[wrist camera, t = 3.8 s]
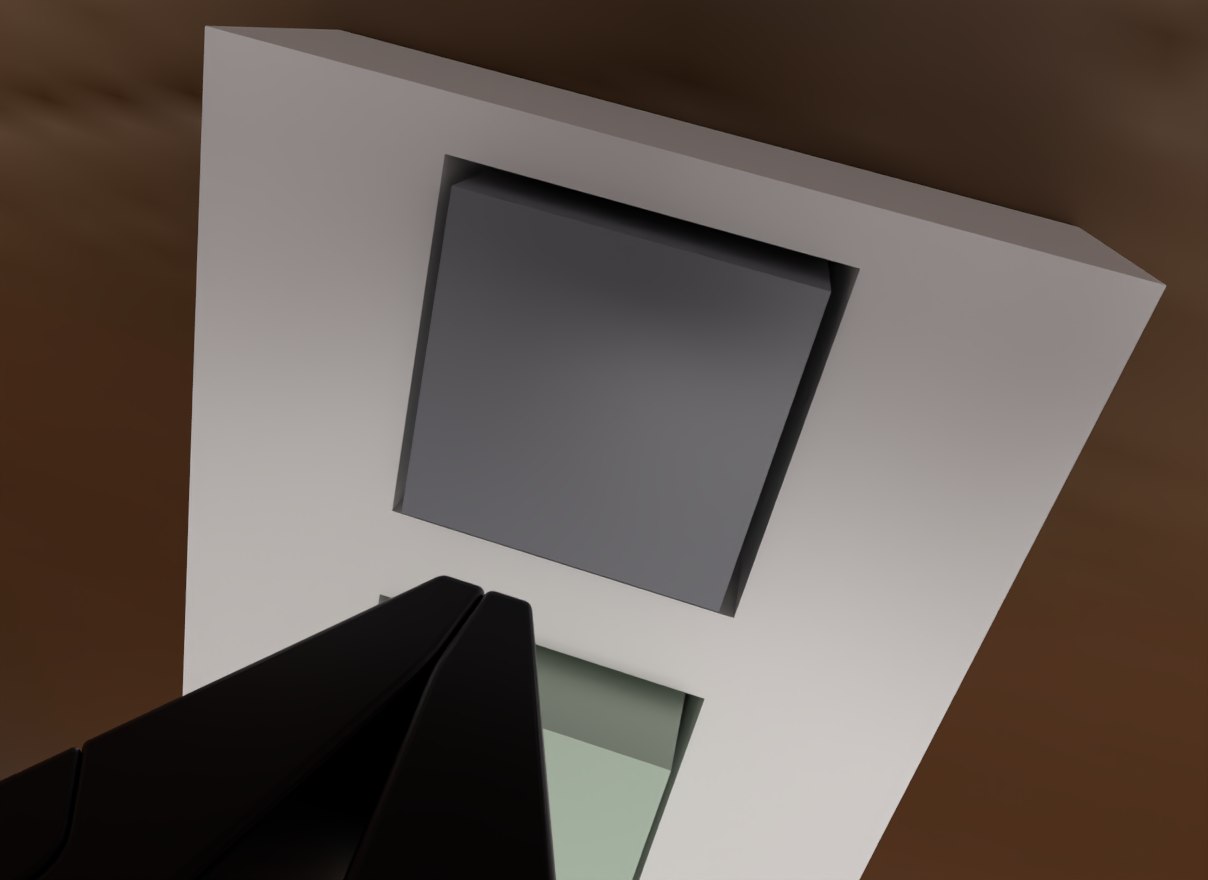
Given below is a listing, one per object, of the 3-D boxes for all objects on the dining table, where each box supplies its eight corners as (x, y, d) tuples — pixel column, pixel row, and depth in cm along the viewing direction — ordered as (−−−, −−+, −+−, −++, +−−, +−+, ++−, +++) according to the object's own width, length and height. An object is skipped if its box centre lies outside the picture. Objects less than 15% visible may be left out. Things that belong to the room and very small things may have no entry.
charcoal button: (735, 502, 17) (718, 612, 14) (477, 424, 18) (401, 512, 14) (825, 237, 15) (831, 291, 12) (527, 154, 15) (452, 186, 12)
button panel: (705, 1038, 24) (688, 1208, 21) (260, 879, 26) (172, 1016, 22) (1079, 227, 15) (1166, 286, 11) (339, 29, 16) (205, 25, 12)
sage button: (631, 821, 20) (596, 980, 16) (404, 744, 20) (325, 885, 17) (696, 631, 17) (671, 770, 14) (439, 549, 18) (355, 666, 14)
